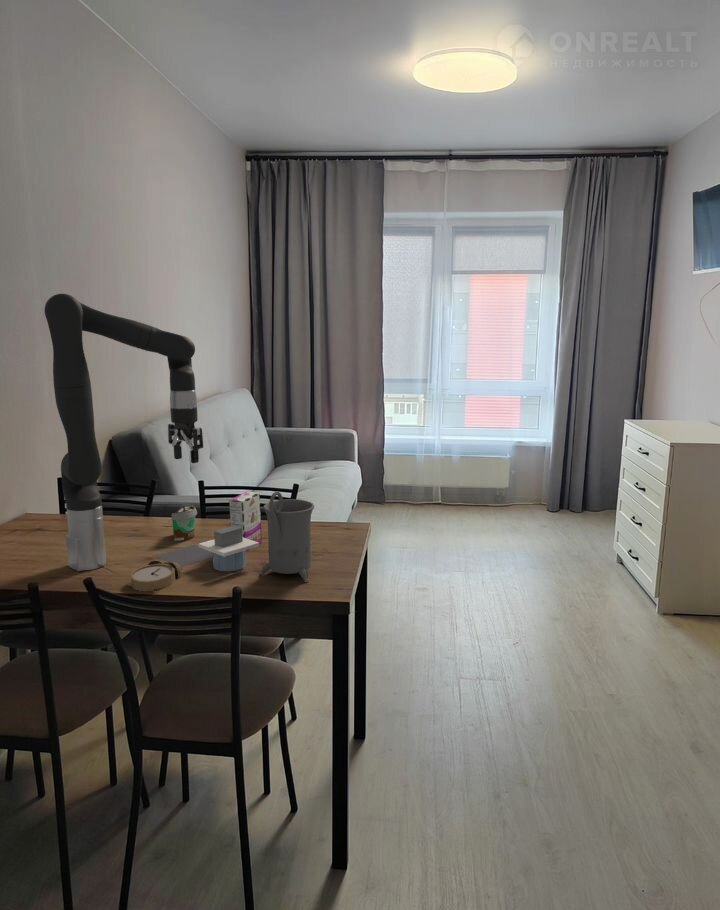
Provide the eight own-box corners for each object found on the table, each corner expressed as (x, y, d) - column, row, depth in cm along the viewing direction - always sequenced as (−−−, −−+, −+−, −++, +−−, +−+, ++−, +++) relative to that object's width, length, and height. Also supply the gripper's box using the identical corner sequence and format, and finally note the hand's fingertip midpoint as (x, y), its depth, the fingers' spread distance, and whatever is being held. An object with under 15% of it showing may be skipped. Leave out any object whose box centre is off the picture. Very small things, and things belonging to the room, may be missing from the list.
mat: (181, 568, 190) (181, 567, 190) (154, 557, 199) (154, 555, 199) (222, 556, 200) (221, 554, 200) (194, 546, 210) (194, 544, 209)
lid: (224, 556, 182) (223, 538, 181) (198, 547, 190) (197, 529, 189) (259, 546, 191) (258, 529, 190) (233, 537, 199) (232, 520, 198)
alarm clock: (120, 579, 175) (154, 551, 188) (123, 596, 177) (157, 567, 190) (157, 584, 171) (189, 556, 185) (160, 601, 173) (191, 571, 186)
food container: (192, 544, 211) (191, 513, 209) (172, 544, 211) (171, 513, 209) (202, 532, 223) (201, 503, 221) (183, 532, 223) (182, 503, 221)
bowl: (226, 575, 185) (225, 554, 184) (207, 567, 191) (206, 547, 190) (252, 566, 192) (251, 546, 191) (232, 559, 198) (232, 539, 197)
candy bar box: (248, 541, 214) (246, 490, 211) (262, 542, 213) (260, 492, 210) (230, 552, 204) (228, 499, 201) (245, 554, 202) (243, 500, 199)
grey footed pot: (280, 560, 197) (278, 476, 192) (327, 567, 191) (326, 481, 187) (247, 583, 179) (244, 491, 175) (297, 591, 174) (295, 497, 169)
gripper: (158, 405, 198) (161, 459, 201) (186, 409, 188) (189, 466, 191) (180, 402, 203) (183, 455, 206) (209, 406, 194) (211, 462, 197)
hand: (186, 460), depth 199 cm, fingers open, 8 cm apart
